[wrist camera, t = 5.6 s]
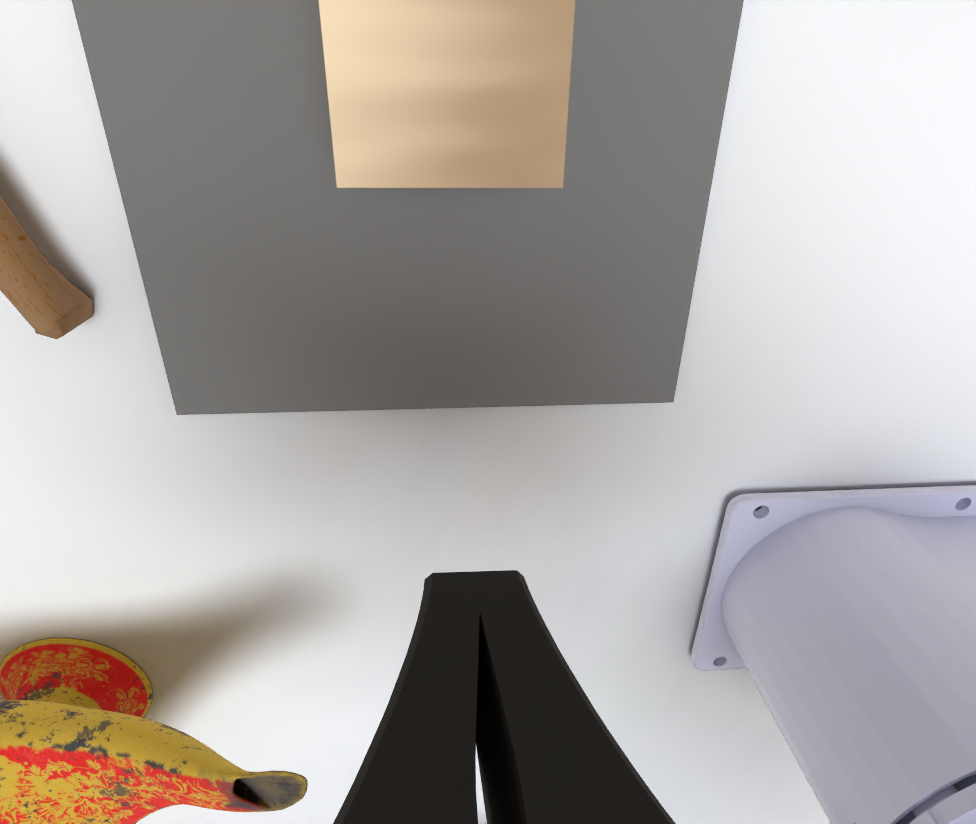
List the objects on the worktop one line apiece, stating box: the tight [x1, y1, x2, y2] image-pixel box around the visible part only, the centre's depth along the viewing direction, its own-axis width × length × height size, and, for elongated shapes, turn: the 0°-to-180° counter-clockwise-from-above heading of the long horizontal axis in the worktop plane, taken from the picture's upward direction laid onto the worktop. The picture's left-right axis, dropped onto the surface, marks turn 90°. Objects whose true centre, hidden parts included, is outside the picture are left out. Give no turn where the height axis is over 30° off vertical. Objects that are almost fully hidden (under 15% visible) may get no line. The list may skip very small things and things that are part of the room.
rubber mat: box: [72, 0, 743, 415], centre depth 14 cm, size 14×15×1 cm
